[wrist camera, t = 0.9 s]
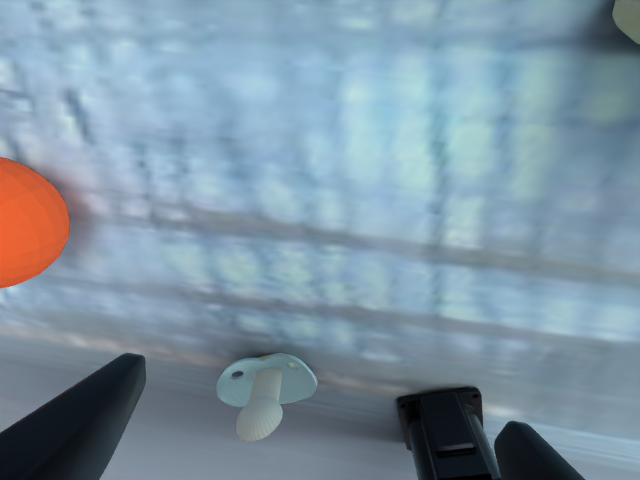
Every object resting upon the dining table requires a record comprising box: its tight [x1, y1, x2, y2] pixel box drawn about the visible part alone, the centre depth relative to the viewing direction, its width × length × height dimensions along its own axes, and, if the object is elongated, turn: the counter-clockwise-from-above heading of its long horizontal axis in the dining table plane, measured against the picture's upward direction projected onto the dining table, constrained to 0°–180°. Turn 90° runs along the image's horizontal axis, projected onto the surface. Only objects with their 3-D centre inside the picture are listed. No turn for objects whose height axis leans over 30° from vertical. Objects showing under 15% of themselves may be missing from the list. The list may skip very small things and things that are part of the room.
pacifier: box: [216, 353, 318, 442], centre depth 23 cm, size 7×6×6 cm
